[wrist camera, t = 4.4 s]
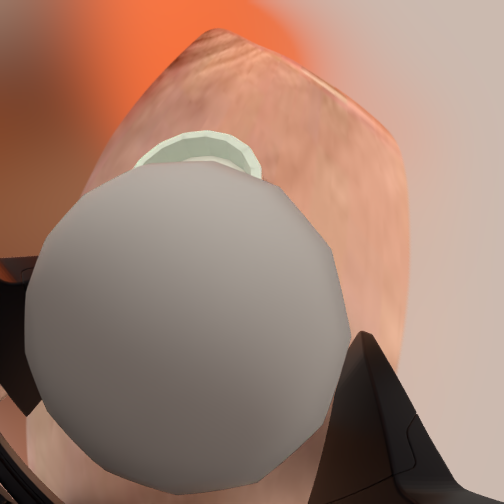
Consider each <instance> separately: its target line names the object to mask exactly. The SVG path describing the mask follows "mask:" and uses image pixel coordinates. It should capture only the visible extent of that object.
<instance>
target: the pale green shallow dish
mask: <svg viewBox="0 0 504 504" xmlns="http://www.w3.org/2000/svg"><path fill="white" fill-rule="evenodd" d="M185 161H216V162H218V163H221V164H224V165H226V166H229V167H231V168H234V169H237V170H239V171H242V172H244V173H247V174H249V175H252V176H254V177H257V178H259V179H261V180H262V169H261V165H260V164H259V162H258V160H257V158H256V157H255V155H254V153H253V152H252V150H251V148H250V147H249V146H247V145H246V144H244V143H243V142H241V141H240V140H238V139H237V138H235V137H234V136H232V135H229V134H225V133H220V132H215V131H209V130H208V131H207V130H205V131H196V132H188V133H182V134H180V135H177V136H175V137H173V138H170V139H168V140H166V141H163V142H161V143H160V144H158V145H157V146H155V147H154V148H153V149H152V150H150V151H149V152H148V153H147V154H145V155H144V156H143V157H142V158H140V159H139V161H138V162H137V164H136V165H135V167H134V168H136V167H139V166H142V165H146V164H149V163H165V162H185Z"/></svg>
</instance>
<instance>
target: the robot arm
mask: <svg viewBox="0 0 504 504" xmlns="http://www.w3.org/2000/svg"><path fill="white" fill-rule="evenodd" d="M38 257H39V256H27V257H12V258H0V401H1V400H2V399H4V398H5V397H6V396H7V395H9V396H10V398H11V399H12V400H13V402H14V403H15V404H16V405H17V407H18V408H19V409H20V410H21V411H22V412H23V414H24V415H25V416H26V417H27V416H28V415H29V414H30V413H31V412H32V411H33V409H34V408H35V407H36V406H37V405H38V404H39V402H40V401H41V400H42V398H41V396H40V393H39V391H38V388H37V386H36V383H35V380H34V378H33V375H32V372H31V369H30V366H29V363H28V360H27V357H26V354H25V300H26V291H27V288H28V285H29V282H30V279H31V276H32V273H33V270H34V267H35V264H36V262H37V259H38ZM0 483H1V484H2V485H3V487H4V488H5V489H6V490H7V492H8V493H9V494H10V495H11V496H12V497H13V499H14V500H13V499H12V497H11V496H10V495H9V494H8V493H7V492H6V490H5V489H4V488H3V487H2V486H0V504H65V503H64V502H63V501H62V500H60V499H59V498H58V497H57V496H56V495H55V494H54V493H53V492H52V491H51V490H50V489H49V488H48V487H47V486H46V485H45V484H44V483H43V482H42V481H41V480H40V479H39V478H38V477H37V476H36V475H35V474H34V473H33V472H32V471H31V470H30V469H29V468H28V466H27V465H26V464H25V463H24V462H23V461H22V460H21V458H20V457H19V456H18V455H17V454H16V452H15V451H14V450H13V449H12V448H11V446H10V445H9V443H8V442H7V441H6V440H5V438H4V437H3V436H2V434H1V433H0ZM308 504H504V502H500V501H497V500H494V499H491V498H488V497H484V496H482V495H479V494H476V493H473V492H471V491H468V490H466V489H464V488H463V487H462V486H460V485H459V484H458V483H457V482H456V481H455V479H454V478H453V476H452V474H451V473H450V471H449V469H448V467H447V466H446V464H445V462H444V461H443V459H442V457H441V455H440V454H439V452H438V451H437V449H436V447H435V445H434V444H433V442H432V440H431V439H430V437H429V435H428V433H427V431H426V430H425V427H424V426H423V424H422V422H421V420H420V418H419V416H418V414H416V410H415V409H414V407H413V405H412V403H411V401H410V399H409V397H408V395H407V394H406V392H405V390H404V388H403V387H402V385H401V383H400V381H399V379H398V377H397V376H396V374H395V372H394V370H393V369H392V367H391V365H390V363H389V362H388V360H387V358H386V357H385V355H384V353H383V351H382V350H381V348H380V346H379V345H378V343H377V341H376V340H375V338H374V336H373V335H372V334H370V333H367V332H365V331H360V332H359V333H358V334H357V336H356V337H355V339H354V341H353V342H352V344H351V345H350V347H349V348H348V350H347V354H346V357H345V361H344V364H343V367H342V371H341V374H340V378H339V381H338V385H337V388H336V392H335V396H334V401H333V406H332V411H331V416H330V421H329V426H328V431H327V435H326V439H325V444H324V448H323V452H322V456H321V460H320V464H319V467H318V471H317V475H316V478H315V482H314V485H313V488H312V492H311V495H310V498H309V501H308Z"/></svg>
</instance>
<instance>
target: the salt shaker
mask: <svg viewBox="0 0 504 504" xmlns="http://www.w3.org/2000/svg"><path fill="white" fill-rule="evenodd" d="M350 340H351V332H350V327H349V322H348V317H347V313H346V308H345V304H344V299H343V295H342V290H341V286H340V282H339V278H338V274H337V270H336V266H335V262H334V258H333V254H332V250H331V248H330V247H329V246H328V244H327V243H326V242H325V241H324V239H323V238H322V237H321V236H320V234H319V233H318V232H317V231H316V229H315V228H314V227H313V226H312V225H311V223H310V222H309V221H308V220H307V219H306V217H305V216H304V215H303V214H302V213H301V211H300V210H299V209H298V208H297V207H296V206H295V204H294V203H293V202H292V201H291V200H290V199H289V197H288V196H287V195H286V194H285V193H284V192H283V190H282V189H281V188H280V187H278V186H276V185H273V184H271V183H269V182H266V181H264V180H261V179H259V178H257V177H254V176H252V175H249V174H247V173H244V172H242V171H239V170H237V169H234V168H231V167H229V166H226V165H224V164H221V163H218V162H216V161H185V162H165V163H149V164H146V165H142V166H139V167H136V168H133V169H131V170H129V171H127V172H125V173H123V174H121V175H119V176H117V177H116V178H114V179H112V180H110V181H108V182H106V183H104V184H102V185H101V186H99V187H97V188H95V189H93V190H92V191H90V192H88V193H86V194H85V195H83V196H82V197H81V199H80V200H79V201H78V202H77V203H76V204H75V205H74V206H73V207H72V208H71V209H70V211H69V212H68V213H67V214H66V215H65V216H64V217H63V218H62V219H61V221H60V222H59V223H58V224H57V225H56V226H55V228H54V229H53V230H52V232H51V233H50V234H49V235H48V236H47V238H46V240H45V242H44V244H43V247H42V249H41V252H40V254H39V257H38V259H37V262H36V264H35V267H34V270H33V273H32V276H31V279H30V282H29V285H28V288H27V291H26V300H25V354H26V357H27V360H28V363H29V366H30V369H31V372H32V375H33V378H34V380H35V383H36V386H37V388H38V391H39V393H40V396H41V398H42V400H43V403H44V405H45V407H46V409H47V411H48V413H49V414H50V415H51V416H52V418H53V419H54V420H55V421H56V422H57V424H58V425H59V426H60V427H61V428H62V429H63V430H64V432H65V433H66V434H67V435H68V436H69V437H70V438H71V439H72V440H73V441H74V442H75V443H76V444H77V445H78V446H79V447H80V448H81V449H82V450H83V451H84V452H85V453H86V454H87V455H88V456H89V457H90V458H91V459H92V460H93V461H94V462H95V463H97V464H98V465H99V466H100V467H102V468H103V469H104V470H106V471H108V472H110V473H112V474H115V475H117V476H120V477H122V478H125V479H127V480H130V481H133V482H136V483H138V484H141V485H144V486H147V487H150V488H154V489H157V490H160V491H164V492H167V493H171V494H175V495H184V494H194V493H203V492H210V491H217V490H223V489H229V488H234V487H239V486H244V485H248V484H253V483H257V482H258V481H260V480H261V479H262V478H264V477H265V476H266V475H267V474H269V473H270V472H271V471H272V470H274V469H275V468H276V467H277V466H278V465H280V464H281V463H282V462H283V461H284V460H286V459H287V458H288V457H289V456H290V455H291V454H292V453H293V452H295V451H296V450H297V449H298V448H299V447H300V446H301V445H302V444H303V443H304V442H305V441H306V440H308V439H309V438H310V437H311V436H312V435H313V434H314V433H315V432H316V431H317V430H318V429H319V428H320V427H321V426H322V425H323V422H324V420H325V417H326V414H327V412H328V409H329V406H330V403H331V401H332V398H333V395H334V392H335V389H336V386H337V383H338V380H339V377H340V374H341V371H342V367H343V364H344V361H345V357H346V354H347V350H348V347H349V343H350Z"/></svg>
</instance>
